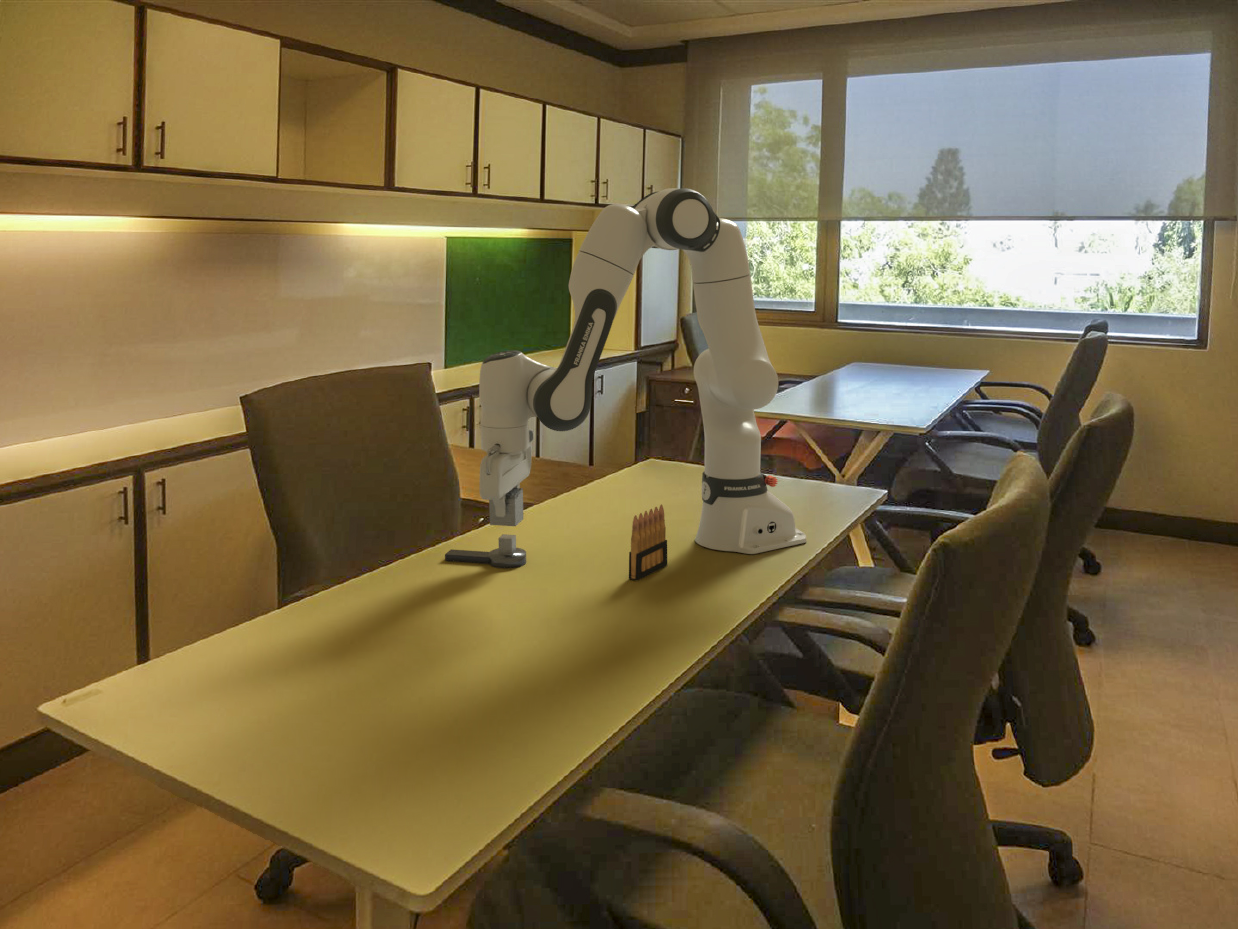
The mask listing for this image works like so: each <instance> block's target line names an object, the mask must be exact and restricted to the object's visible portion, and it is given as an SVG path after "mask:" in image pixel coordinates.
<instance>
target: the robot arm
mask: <svg viewBox="0 0 1238 929" xmlns="http://www.w3.org/2000/svg"><path fill="white" fill-rule="evenodd" d="M651 248H652V249H661V250H664V251H665V250H666V251H675V250H676V251H677V250H682V251H683V252H684V253H685V256H687V258H688V260H689V265H690V266H691V268H690V269H691V278H692V279H691V280H692V288H693V294H694V301H695V302H694V303H695V310H696V315H697V322H698V325H699V328H700V329H701V330H702V333H703V335H704V338H705V339H704V340H705V342H706V345H707V346H708V348H707V349H705V350H703V351H702V352H701V353H699V355H698V357H697V358H696V360H695V362H694V365H693V377H694V380H695V382H696V386H697V389H698V391H697V392H698V396H699V398H698V399H699V403H700V412H701V417H702V424H703V432H704V433H703V434H704V471H703V472H702V473H701V474H702V477H701V501H702V506H701V515H700V520H699V523H698V525H699V526H698V529H697V532H696V535H695V539H694V540H695V543H696V544H698V545H700V546H702V547H705V548H707V549H710V550H716V551H722V552H723V551H724V552H734V553H736V552H737V553H742V554H747V555H756V554H759V553H760V554H761V553H765V552H768V551H774V550H777V549H782V548H786V547H787V548H788V547H791V546H797V545H800V544H804V543H806V542H807V535H806V534H805V533H804V532H803V531H801V530H800V529H798V528H797V527H796V522H795V516H794V513H793V511H792V508H790V507H789V506H788V505H787V504H785V502H783V501H782V500H780V499H779V498H778V497H776V496H775V495H774V494H773V493H771V492H770V491H768V487H767V486H769V487H771V488H774V487H776V486H777V485H778V482H779V481H778V479H777V477H776V476H772V475H766V474H764V473H762V472H761V448H762V446H761V445H762V443H761V442H762V437H761V436H762V435H761V431H760V429H759V427H758V424H757V420H756V415H755V410H758V409H762V408H764V407H766V406H768V405H769V404H770V403H771V402H772V401H773V400H774V398H775V397H776V395H777V393H778V389H779V376H778V373H777V371H776V369H775V368H774V366H773V365H772V362H771V360H770V357H769V354H768V352H767V348H766V344H765V341H764V338H763V334H762V332H761V328H760V326H759V321H758V319H757V312H756V309H755V308H756V307H755V306H756V305H755V301H754V300H755V299H754V292H753V284H752V278H751V270H750V269H751V268H750V263H749V258H748V254H747V248H746V245H745V242H744V238H743V235H742V232H741V230H740V228H739V225H737V223H735V222H734V221H732V220H730V219H728V218H727V219H726V218H722V217H719V216H718V215H717V213H716V212H715V211H714V209H713V207H712V204H710V202H709V201H708V199H707V198H706V197H705V196H704V195H702V194H701V193H700V192H698V191H697V190H694V189H691V188H676V187H675V188H673V187H672V188H671V187H670V188H665V189H662V190H660V191H655V192H651V193H649V194H647V195H645V196H644V197H642V198H641V199H640V200H639V201H637V202H636V203H634V205H632V206H630V205H627V204H621V203H613V204H609V205H607V206H605V207H604V208H602V209H601V211H600V212H599V214H598V216H597V217H596V218H595V220H594V221H593V222H592V225H591V226H590V228H589V230H588V231H587V233H586V235H585V237H584V239H583V241H582V243H581V245H580V247H579V250H578V252H577V255H576V257H575V259H574V262H573V265H572V268H571V272H570V277H569V281H568V291H569V293H570V296H571V299H572V303H573V307H574V309H573V310H574V323H573V327H572V330H571V333H570V335H569V338H568V341H567V343H566V345H565V348H564V351H563V354H562V356H561V359H560V361H559V364H558V365H557V367H554V366H550V365H547V364H543V363H542V362H539V361H536V360H534V359H532V358H530V357H528V356H527V355H526V354H524V353H523V352H522V351H520V350H503V351H499V352H496V353H495V352H494V353H491V355H488V356H486V357H485V359H484V360H482V362H481V366H480V370H479V382H478V384H479V386H478V390H479V396H478V397H479V404H480V406H481V418H480V422H479V423H480V424H479V425H480V426H479V427H480V448H481V450H482V451H483V452H484V451H485V452H486V455H485V456H484V457H482V459H481V461H480V466H479V495H480V498H481V499H482V500H487V501H489V500H493V503H494V506H495V512H496V516H497V517H504V516H505V515H506V514H507V506H506V505H505V498H506V495H505V494H506V493H508V492H509V491H510V490H511V489H513V488H520V487H521V485H520V483H521V482H523V481H524V480H525V479H527V477H529V476H530V473H531V468H532V455H533V454H532V452H533V451H532V450H533V448H532V447H533V446H532V442H533V441H534V438H535V433H534V429H532V428H529V420H530V418H536V417H537V418H538V420H539V422H541V424H542V425H543V426H544V427H546V428H548V429H550V430H552V431H554V432H569V431H572V430H574V429H576V428H578V427H579V426H580V425H581V424H583V423H584V422H585V421H586V419H587V417H588V416H589V413H590V411H591V408H592V386H593V380H594V376H595V373H596V370H597V367H598V364H599V362H600V359H601V357H602V353H603V351H604V348H605V345H606V343H607V340H608V338H609V335H610V331H611V328H612V327H613V323H614V320H615V318H616V316H617V314H618V311H619V309H620V306H621V305H622V302H623V300H624V298H625V296H626V294H627V292H628V289H629V287H630V285H631V282H632V281H633V278H634V276H635V273H636V271H637V269H638V265H639V263H640V262H641V261H640V260H641V259H643V256H644V255H645V253H646V252H648V250H650V249H651Z"/></svg>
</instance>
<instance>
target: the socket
mask: <svg viewBox="0 0 1238 929" xmlns="http://www.w3.org/2000/svg"><path fill="white" fill-rule="evenodd" d="M523 489H524V488H513V489H511V490H510V491H509V492H508V493H506V494H505V495H506V498H505V505H506V506H507V514H506V515H505V516H504V517H497V516H496V512H495V506H494V503H493V500H488V502H489V503H488V506H489V508H488V510H489V525H490V526H503V527H517V526H518V525H519V523H521V522H522V521H523V520H524V491H523Z"/></svg>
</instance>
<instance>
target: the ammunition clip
mask: <svg viewBox="0 0 1238 929" xmlns="http://www.w3.org/2000/svg"><path fill="white" fill-rule="evenodd" d="M648 511H649V512H648ZM648 511H647V510H645V511H644V514H643V513H642V512H640V513H639V515H638V516H637V515H634V516H633V518H632V519H633V520H632V524H631V525H632V526H631V527H632V529H631V537H630V551H629V552H628V554H629V556H628V557H629V558H628V579H629V580H632V581H637V582H638V581H640V580H642V579H644V578H646V577H648V576H650V575H651V574H654V573H656V572H658V571H659V570H660V571H661V570H662V569H664V568H666V567H668V540H667V539H666V536H667V535H666V523H665V522H666V521H665V510H664V506H663V504H660V505H659V508H658V506H655V507H654V508H653V509H652V508H650V509H649V510H648Z"/></svg>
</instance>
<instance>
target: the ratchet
mask: <svg viewBox="0 0 1238 929" xmlns="http://www.w3.org/2000/svg"><path fill="white" fill-rule="evenodd" d="M444 561H445V562H450V563H465V564H479V565H489V566H491V567H492V568H496V569H503V570H505V569H509V570H510V569H516V568H520V567H523V566H525V565H526V564H527V551H526V550H525V549H523V548H521V547H520V548H519V547H517V535H516V534H502V535H500V536H499V537H498V548H495V549H492V550H490V551H483V550H482V551H480V550H479V551H478V550H467V549H466V550H465V549H449V550H448V551H447V552H446V553H444Z"/></svg>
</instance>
